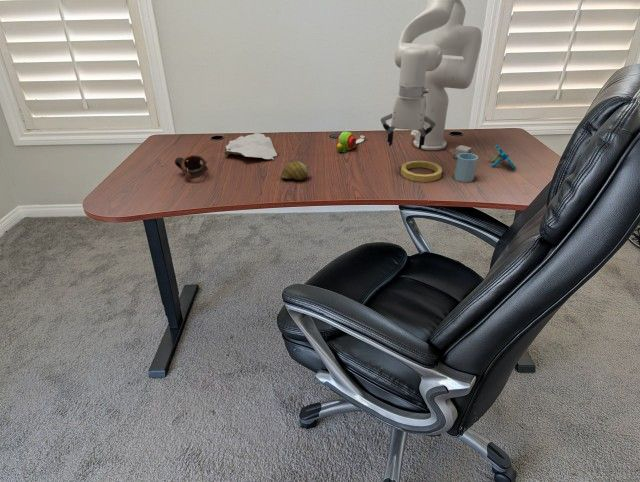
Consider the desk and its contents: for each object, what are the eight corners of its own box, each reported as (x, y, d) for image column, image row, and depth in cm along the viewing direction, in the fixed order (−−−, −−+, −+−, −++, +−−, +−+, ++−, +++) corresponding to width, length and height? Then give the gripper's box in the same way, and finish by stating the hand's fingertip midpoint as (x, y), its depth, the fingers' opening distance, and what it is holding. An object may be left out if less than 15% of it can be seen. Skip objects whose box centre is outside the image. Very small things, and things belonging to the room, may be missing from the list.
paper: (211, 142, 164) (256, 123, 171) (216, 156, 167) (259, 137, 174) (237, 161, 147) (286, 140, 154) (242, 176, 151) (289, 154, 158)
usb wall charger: (465, 161, 152) (467, 150, 150) (447, 156, 156) (449, 146, 154) (470, 158, 154) (472, 147, 152) (453, 153, 158) (454, 143, 156)
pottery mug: (214, 171, 148) (211, 156, 141) (203, 192, 144) (199, 178, 136) (182, 160, 149) (177, 145, 141) (169, 181, 144) (164, 166, 137)
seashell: (284, 191, 142) (283, 181, 135) (277, 173, 144) (276, 162, 136) (311, 182, 144) (312, 171, 136) (304, 164, 146) (304, 153, 138)
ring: (398, 179, 139) (399, 173, 138) (403, 164, 150) (404, 159, 149) (439, 183, 136) (440, 178, 135) (442, 168, 147) (443, 162, 146)
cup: (450, 178, 140) (454, 156, 136) (460, 172, 143) (464, 151, 139) (467, 183, 136) (471, 161, 132) (477, 178, 139) (481, 156, 135)
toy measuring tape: (330, 152, 161) (330, 135, 158) (357, 137, 175) (357, 121, 171) (345, 155, 158) (345, 138, 155) (370, 140, 171) (371, 124, 168)
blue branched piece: (520, 169, 141) (501, 146, 139) (504, 180, 143) (485, 158, 142) (513, 161, 151) (495, 139, 149) (498, 171, 153) (481, 151, 151)
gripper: (440, 90, 131) (433, 144, 140) (384, 87, 135) (381, 140, 144) (439, 96, 125) (431, 152, 134) (380, 92, 129) (377, 147, 138)
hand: (405, 145), depth 139 cm, fingers open, 9 cm apart
